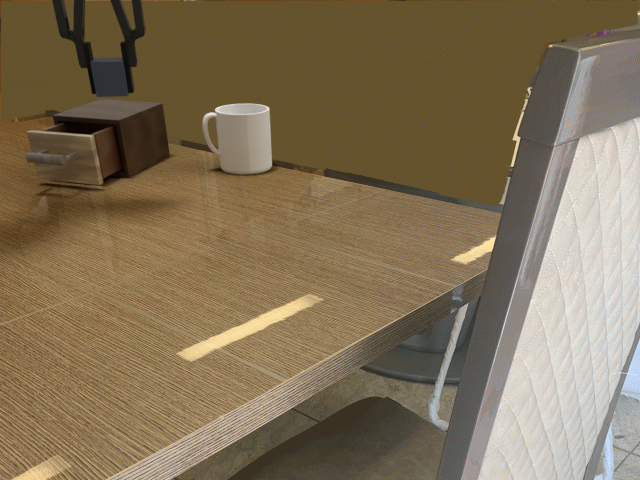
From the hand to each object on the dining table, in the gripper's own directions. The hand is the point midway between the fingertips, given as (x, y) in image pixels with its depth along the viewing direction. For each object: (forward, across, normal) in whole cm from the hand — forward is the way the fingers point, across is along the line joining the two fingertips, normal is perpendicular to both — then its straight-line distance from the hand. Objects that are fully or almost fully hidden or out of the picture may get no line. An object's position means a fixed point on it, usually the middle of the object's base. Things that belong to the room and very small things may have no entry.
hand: (113, 91), depth 98 cm
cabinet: (+17, +4, -24) cm, 29 cm away
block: (0, 0, 0) cm, 0 cm away
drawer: (+16, +10, -14) cm, 23 cm away
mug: (+17, -19, -17) cm, 30 cm away
